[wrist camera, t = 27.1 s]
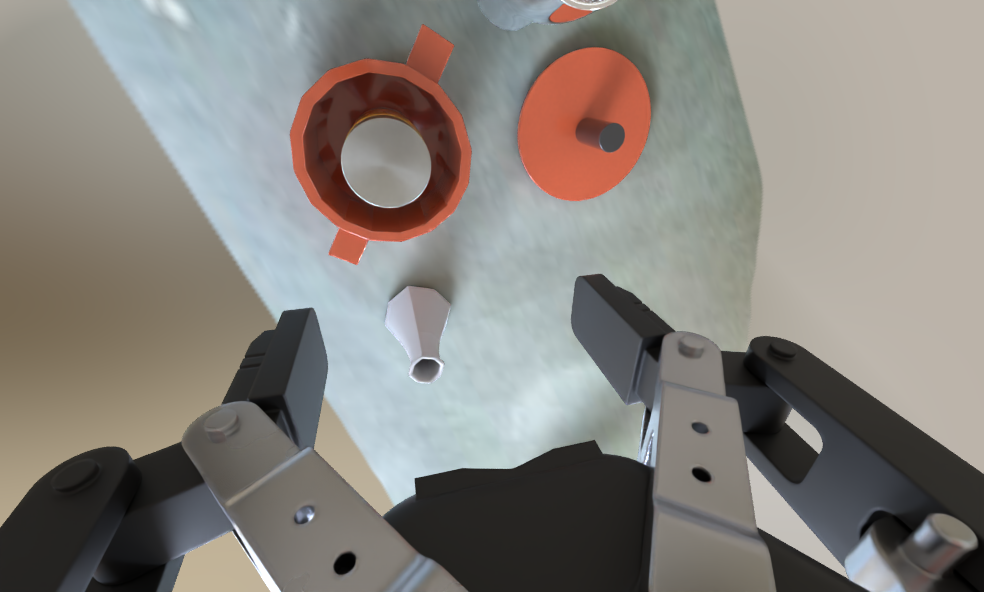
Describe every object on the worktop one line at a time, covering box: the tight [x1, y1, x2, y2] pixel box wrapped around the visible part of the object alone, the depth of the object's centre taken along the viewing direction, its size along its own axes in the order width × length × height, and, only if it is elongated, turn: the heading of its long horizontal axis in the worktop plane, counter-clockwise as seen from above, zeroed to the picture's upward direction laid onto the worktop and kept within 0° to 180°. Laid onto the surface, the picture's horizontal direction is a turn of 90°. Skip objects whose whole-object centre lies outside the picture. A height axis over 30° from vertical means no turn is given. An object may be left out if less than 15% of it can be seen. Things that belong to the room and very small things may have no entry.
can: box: [341, 107, 431, 208], centre depth 31 cm, size 6×6×9 cm
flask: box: [385, 286, 451, 383], centre depth 40 cm, size 7×7×10 cm
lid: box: [517, 47, 651, 201], centre depth 36 cm, size 14×14×6 cm
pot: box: [290, 24, 472, 265], centre depth 32 cm, size 13×18×8 cm
